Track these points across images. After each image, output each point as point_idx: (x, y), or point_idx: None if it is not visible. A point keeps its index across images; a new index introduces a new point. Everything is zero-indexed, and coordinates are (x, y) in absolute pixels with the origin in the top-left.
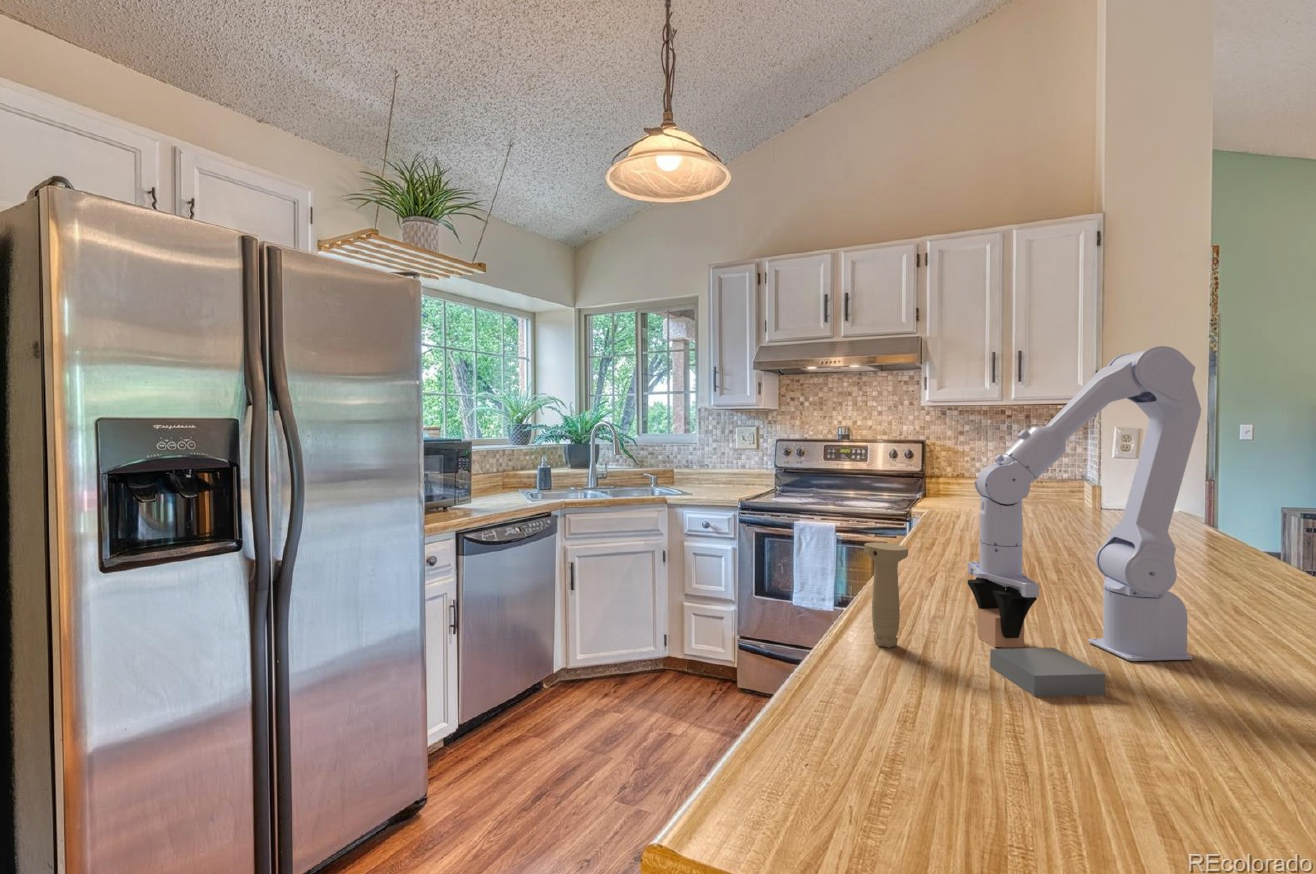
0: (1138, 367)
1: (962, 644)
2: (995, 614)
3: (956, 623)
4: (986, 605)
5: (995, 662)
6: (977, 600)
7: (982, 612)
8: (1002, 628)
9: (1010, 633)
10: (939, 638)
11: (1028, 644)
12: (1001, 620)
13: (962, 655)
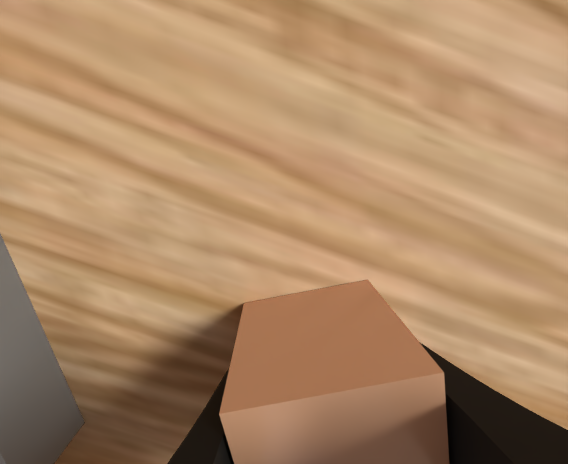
0: None
1: (270, 182)
2: (306, 440)
3: (561, 256)
4: (471, 455)
5: None
6: (542, 437)
7: (377, 378)
8: None
9: None
10: (346, 95)
11: None
12: (211, 432)
13: (114, 128)
